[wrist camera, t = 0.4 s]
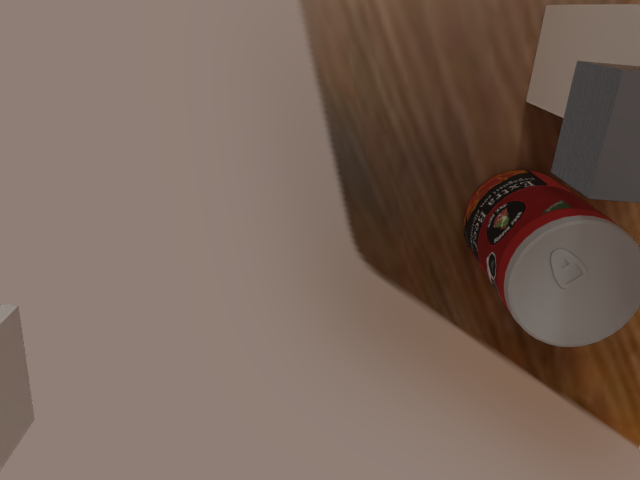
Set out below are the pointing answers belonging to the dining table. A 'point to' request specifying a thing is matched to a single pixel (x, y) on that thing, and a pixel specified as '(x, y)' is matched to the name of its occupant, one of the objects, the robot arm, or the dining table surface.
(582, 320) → the canned food
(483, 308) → the dining table surface
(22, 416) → the robot arm
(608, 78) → the steel bar
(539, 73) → the stand
